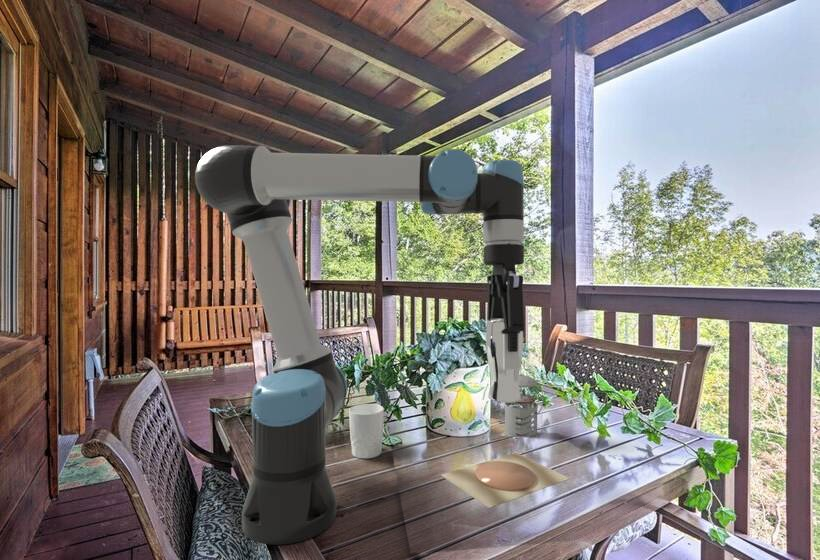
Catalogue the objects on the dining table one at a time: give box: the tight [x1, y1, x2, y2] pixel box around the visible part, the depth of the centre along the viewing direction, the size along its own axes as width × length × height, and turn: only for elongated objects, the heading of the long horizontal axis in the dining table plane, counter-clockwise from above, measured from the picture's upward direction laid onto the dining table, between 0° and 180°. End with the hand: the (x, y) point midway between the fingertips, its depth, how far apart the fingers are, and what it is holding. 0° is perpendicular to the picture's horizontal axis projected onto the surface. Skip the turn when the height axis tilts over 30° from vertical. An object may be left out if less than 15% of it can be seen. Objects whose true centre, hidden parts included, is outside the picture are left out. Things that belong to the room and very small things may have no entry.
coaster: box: [476, 461, 534, 491], centre depth 83 cm, size 11×11×1 cm
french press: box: [500, 336, 545, 438], centre depth 108 cm, size 10×12×25 cm
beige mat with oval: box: [440, 452, 571, 509], centre depth 83 cm, size 20×14×2 cm
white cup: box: [348, 403, 385, 460], centre depth 98 cm, size 8×8×10 cm
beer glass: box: [485, 318, 524, 404], centre depth 83 cm, size 7×7×15 cm
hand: (504, 364), depth 83 cm, fingers closed on beer glass, 7 cm apart
